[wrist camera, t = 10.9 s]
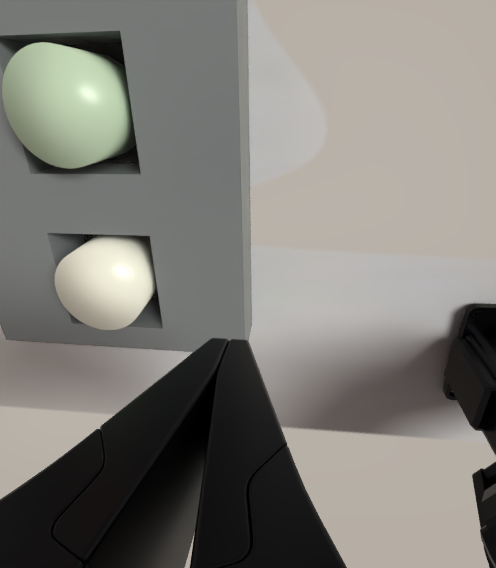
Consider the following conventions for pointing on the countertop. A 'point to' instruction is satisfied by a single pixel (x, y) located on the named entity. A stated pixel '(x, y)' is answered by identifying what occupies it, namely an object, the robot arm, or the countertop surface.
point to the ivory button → (107, 280)
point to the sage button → (68, 104)
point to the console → (138, 175)
